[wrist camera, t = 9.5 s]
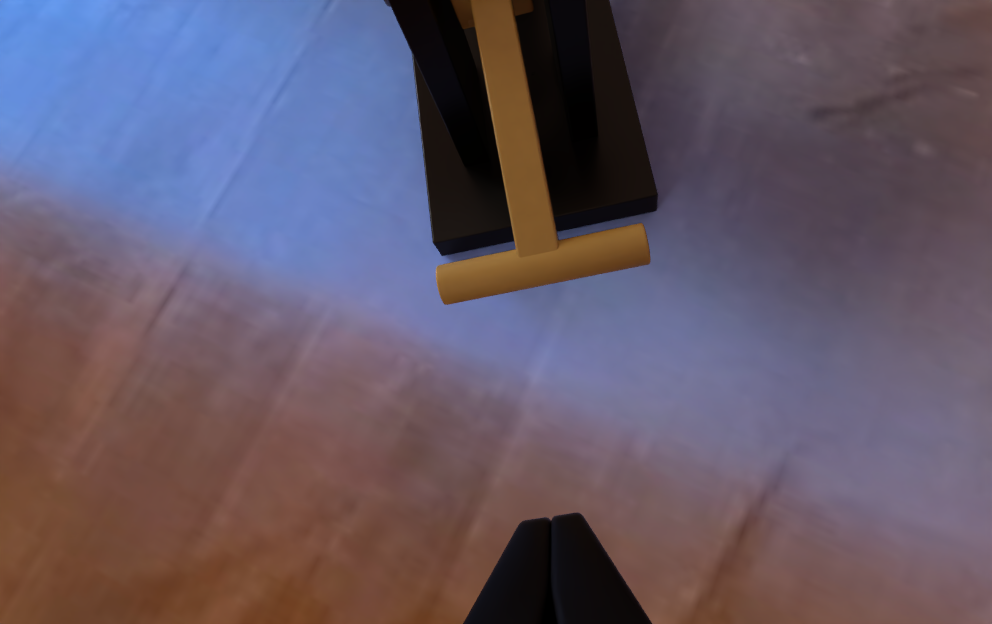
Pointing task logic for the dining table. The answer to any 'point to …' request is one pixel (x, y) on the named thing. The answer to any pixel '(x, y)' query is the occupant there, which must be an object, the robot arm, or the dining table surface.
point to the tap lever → (526, 180)
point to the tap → (558, 113)
